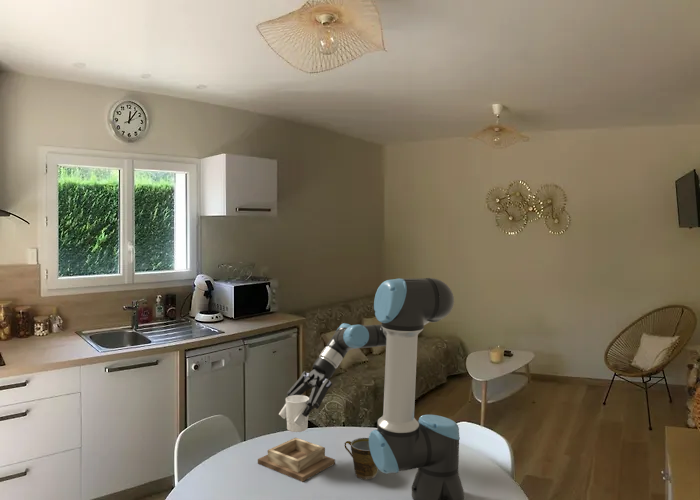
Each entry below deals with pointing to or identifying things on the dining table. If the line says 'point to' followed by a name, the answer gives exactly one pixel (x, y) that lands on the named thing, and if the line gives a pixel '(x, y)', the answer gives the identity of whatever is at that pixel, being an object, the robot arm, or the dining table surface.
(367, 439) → the ceramic cup
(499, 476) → the dining table surface
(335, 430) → the dining table surface
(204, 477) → the dining table surface
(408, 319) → the robot arm
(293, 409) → the white cup
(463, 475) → the dining table surface
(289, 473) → the tray
